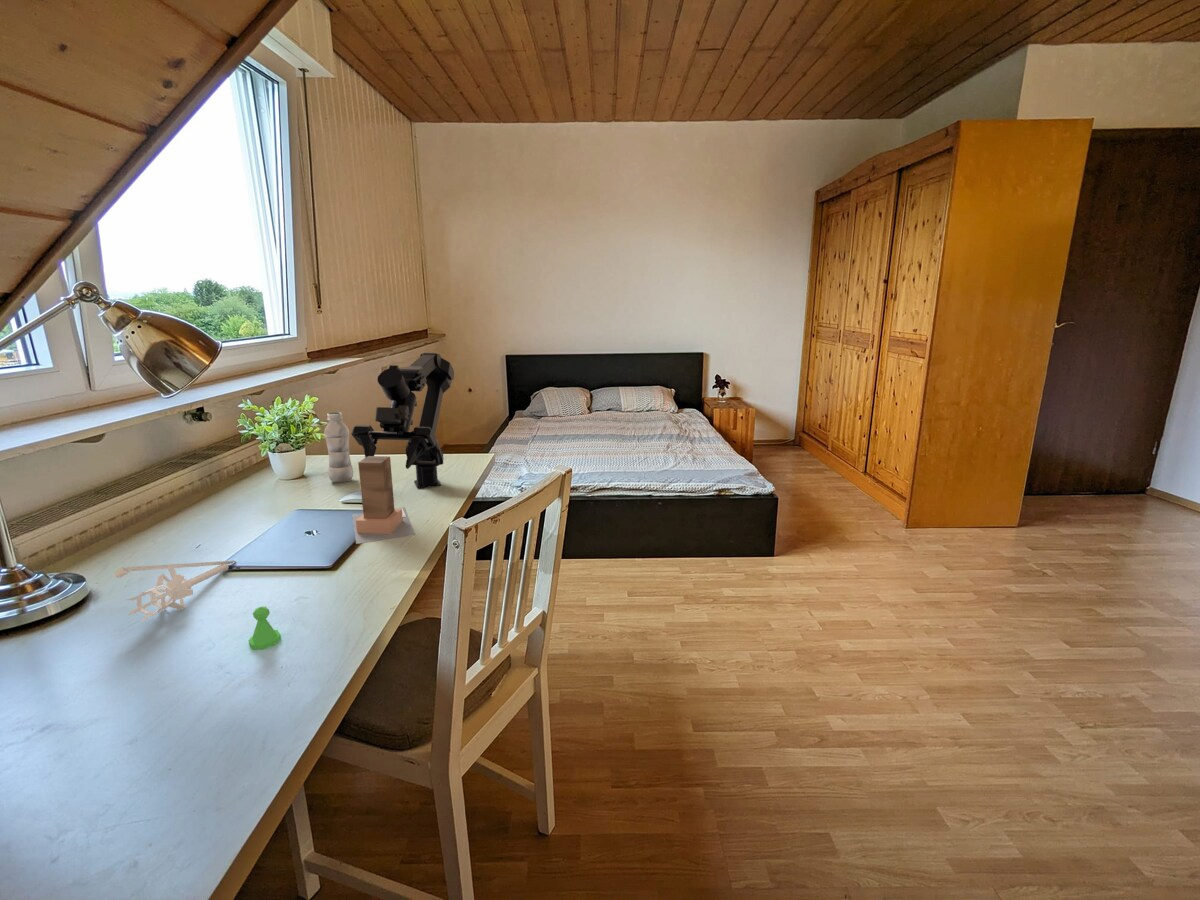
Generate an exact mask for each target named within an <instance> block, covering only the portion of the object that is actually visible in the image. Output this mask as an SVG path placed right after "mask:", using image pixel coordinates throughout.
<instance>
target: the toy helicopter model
mask: <svg viewBox="0 0 1200 900" xmlns="http://www.w3.org/2000/svg"><path fill="white" fill-rule="evenodd" d="M233 562H234V563H237V561H236V560H223V561H222V560H220V561H204V562H189V563H188V562H187V563H176V564H174V563H173V564H157V565H156V564H155V565H141V566H125V567H123V566H122V567H120V568H118V569H117V570H115V571H113V573H114V576H115V578H122V577H125V576H126V575H128V574H129V573H131V572H138V571H152V570H153V571H155V570H168V572H169V575H170V578H171V580H170V578H168V576H167V575H166V574H165V573H162V574H161V575H159V576H158V577H157V581H156V584H155V587H152V588H149V589H147V590H146V591H141V592H140V594H139V595H136V596H134V597H130V598H128V599H126V601H135V600H136V607H135V609H132V610H131V611H130V612H129V613H127V616H129V615H132V614H136V613H138V612H141V613H142V614H145V616H144V617H143V619H142V621H141V623H143V622H144V621H145V620H147V619H148V618H150V617H152V616H154V615H156V614H158V613H160V612H161V611H166V610H167V609H168V607H169V608H172V609H176V610H179V611H182V610H184V609H185V608H187V606H186V603H185V601H184V598H186V597H190V596H193V595H194V589H193V588H192V587H194V586H195V585H197V584H200V583H201V582H204V581H206V580H208V579H210V578H212V577H214V576H216V575H218V574H220V573H222V572H225V571H227V570H229V565H230V563H231V564H234V563H233ZM208 566H209V567H211V566H216V567H214V568H212V569H210V570H207V571H205V572H202V573H200V574H198V575H196V576H194V577H192V578H190V579H186V578H185V576H184V575H183V574H181V573H178V574H177V572H176V569H178V568H179V569H180V568H193V567H196V568H197V567H208ZM164 581H165V582H167V583H165V584H164ZM162 587H163V588H162ZM149 594H150V595H149ZM146 595H149V596H150V597H149V598H150V601H149V602H147V603H145V604H142V597H144V596H146ZM156 595H157V596H156ZM166 597H169V598H168V599H166ZM177 600H179V603H178V602H176V601H177ZM159 601H160V602H159ZM151 605H154V606H155V607H158V609H157V610H155V611H153V612H151V611H149V610H148V609H147V610H146V608H148V607H150V606H151Z"/></svg>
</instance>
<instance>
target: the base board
mask: <svg viewBox="0 0 1200 900" xmlns="http://www.w3.org/2000/svg"><path fill="white" fill-rule="evenodd" d="M396 509H402V516H403V521H402V522H401V523H400V524H399V525H398V527H397V528H396V529H395V530H394V531H393V532H392V533H391V534H377V533H357V528H356V520H357V519H358V518H359V517H360V516H361V515H363V512H362V513H355V514H351V515H352V523H353V529H354V530H353V531H354V537H355V544H356V545H359V544H364V543H371V542H372V543H373V542H378V541H384V540H391V539H392V540H393V539H398V538H404V537H410V536H411V537H412V536H416V533H415V530H414V528H413V526H412V524H411V521H410V518H409V515H408V513H407V510H406V508H405V507H399V508H396Z"/></svg>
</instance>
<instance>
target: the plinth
mask: <svg viewBox="0 0 1200 900" xmlns="http://www.w3.org/2000/svg"><path fill="white" fill-rule="evenodd" d="M394 509H395V511H394V512H393V513H392V514H391V515H390V516H389V517H388V518H387V519H369V518H364V515H361V516H360V517H359V518H358V519H357V520H356V528H357V533H377V534H391V533H392V532H393V531H394V530H395V529H396V528H397V527H398V525H399V524H400V523H401V522H402V521H403V516H402V509H397V508H394Z"/></svg>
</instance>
